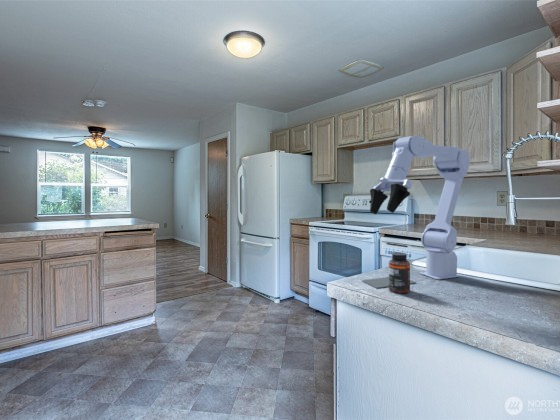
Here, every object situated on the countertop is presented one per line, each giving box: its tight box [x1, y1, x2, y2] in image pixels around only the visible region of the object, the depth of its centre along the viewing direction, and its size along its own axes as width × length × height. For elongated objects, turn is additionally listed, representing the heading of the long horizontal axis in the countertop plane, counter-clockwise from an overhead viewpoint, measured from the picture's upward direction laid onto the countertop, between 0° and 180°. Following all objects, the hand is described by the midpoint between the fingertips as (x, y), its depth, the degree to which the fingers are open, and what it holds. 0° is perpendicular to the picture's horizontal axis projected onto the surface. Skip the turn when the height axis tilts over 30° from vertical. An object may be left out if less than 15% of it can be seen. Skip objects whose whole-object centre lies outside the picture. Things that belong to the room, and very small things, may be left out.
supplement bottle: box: [388, 251, 411, 294], centre depth 93 cm, size 6×6×11 cm
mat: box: [361, 276, 417, 289], centre depth 102 cm, size 15×8×1 cm, turn 109°
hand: (381, 211), depth 90 cm, fingers open, 7 cm apart
